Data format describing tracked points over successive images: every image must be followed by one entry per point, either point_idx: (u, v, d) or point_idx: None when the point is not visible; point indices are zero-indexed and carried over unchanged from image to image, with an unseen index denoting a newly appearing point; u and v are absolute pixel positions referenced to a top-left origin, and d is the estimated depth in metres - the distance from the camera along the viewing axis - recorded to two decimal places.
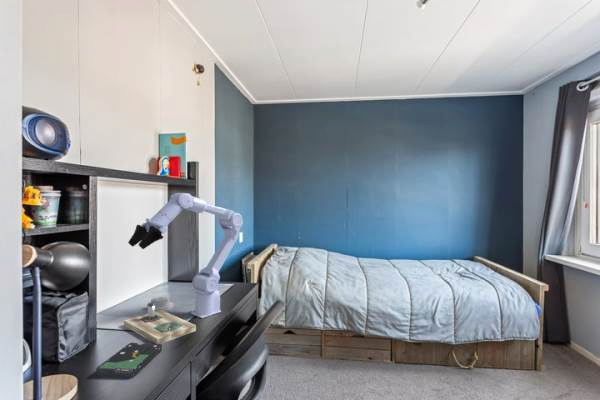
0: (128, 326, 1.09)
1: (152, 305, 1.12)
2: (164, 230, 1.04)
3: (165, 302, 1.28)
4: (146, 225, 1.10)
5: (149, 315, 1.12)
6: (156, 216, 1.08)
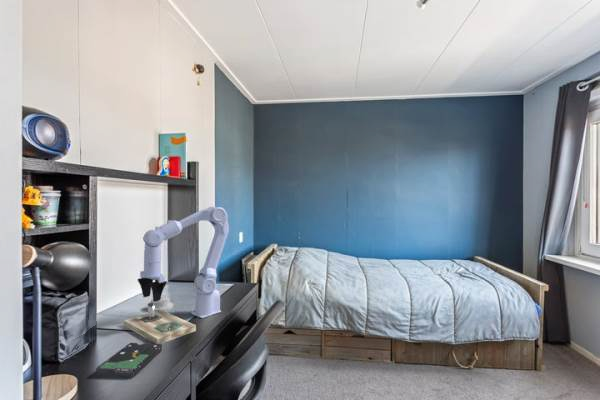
0: (128, 326, 1.09)
1: (152, 305, 1.12)
2: (163, 279, 1.09)
3: (165, 302, 1.28)
4: None
5: (149, 315, 1.12)
6: (146, 269, 1.11)
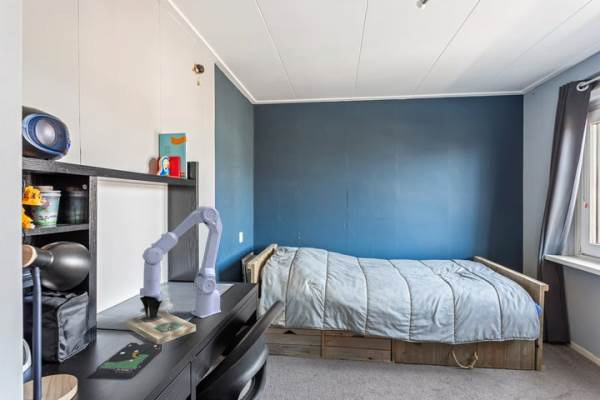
0: (128, 326, 1.09)
1: None
2: (162, 297, 1.09)
3: (165, 302, 1.28)
4: None
5: (149, 315, 1.12)
6: (146, 287, 1.11)
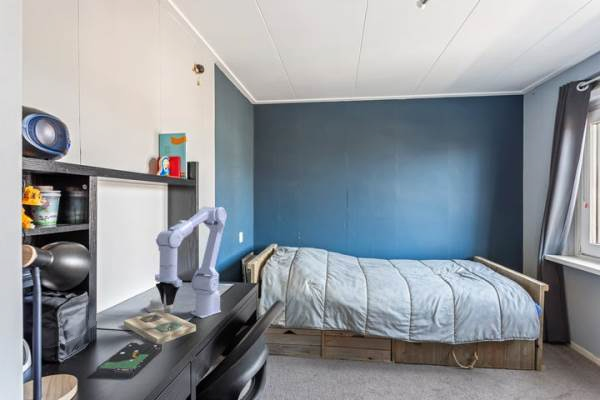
0: (128, 326, 1.09)
1: None
2: (180, 283, 1.02)
3: None
4: None
5: (165, 303, 1.05)
6: (162, 272, 1.04)
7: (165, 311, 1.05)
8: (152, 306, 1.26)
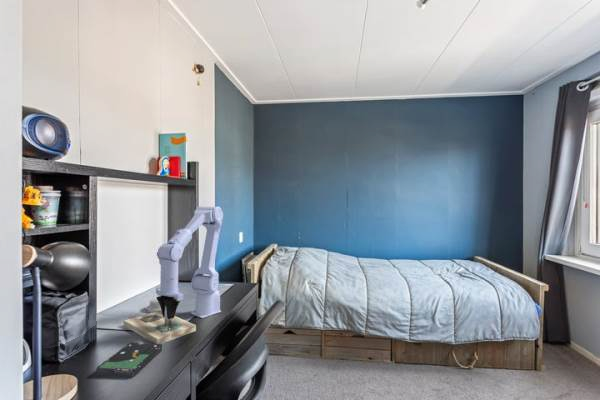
0: (128, 326, 1.09)
1: None
2: (181, 297, 1.02)
3: None
4: None
5: (166, 316, 1.05)
6: (163, 286, 1.03)
7: (166, 325, 1.05)
8: (152, 306, 1.26)
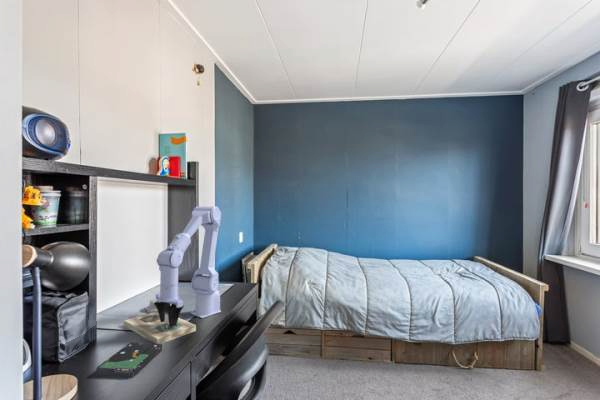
0: (128, 326, 1.09)
1: None
2: (181, 304, 1.02)
3: None
4: None
5: (165, 324, 1.05)
6: (163, 292, 1.03)
7: None
8: (152, 306, 1.26)
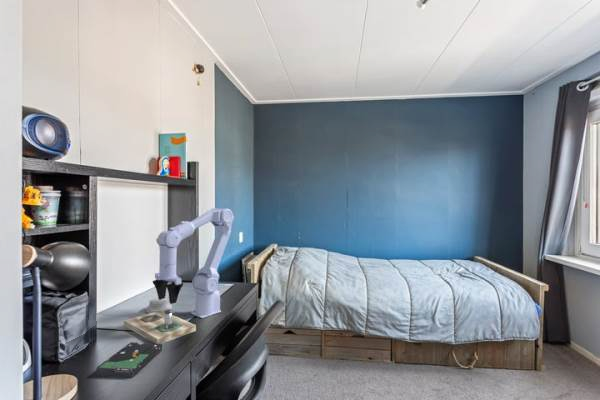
0: (128, 326, 1.09)
1: (169, 312, 1.05)
2: (179, 281, 1.07)
3: (164, 303, 1.27)
4: None
5: (165, 324, 1.05)
6: (162, 271, 1.09)
7: None
8: (151, 307, 1.25)
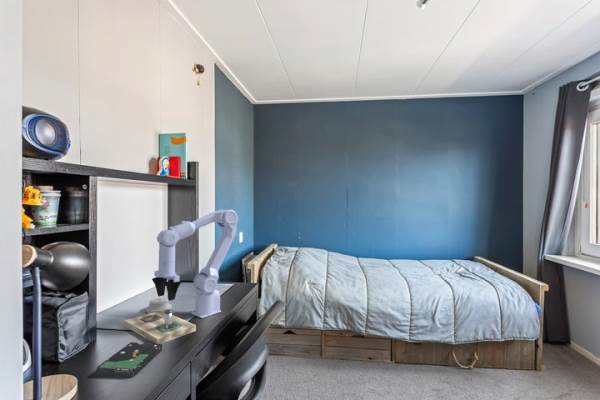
0: (128, 326, 1.09)
1: (169, 312, 1.05)
2: (178, 278, 1.11)
3: (164, 303, 1.26)
4: None
5: (166, 324, 1.05)
6: (161, 268, 1.12)
7: None
8: (151, 307, 1.25)
